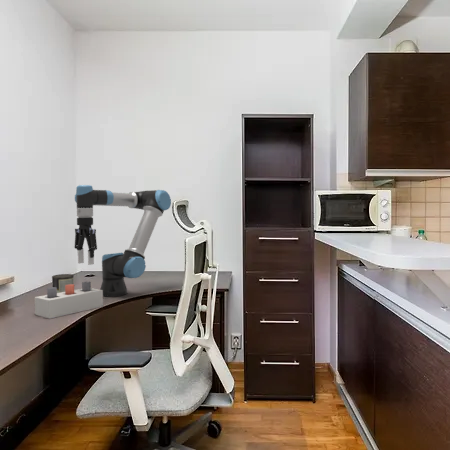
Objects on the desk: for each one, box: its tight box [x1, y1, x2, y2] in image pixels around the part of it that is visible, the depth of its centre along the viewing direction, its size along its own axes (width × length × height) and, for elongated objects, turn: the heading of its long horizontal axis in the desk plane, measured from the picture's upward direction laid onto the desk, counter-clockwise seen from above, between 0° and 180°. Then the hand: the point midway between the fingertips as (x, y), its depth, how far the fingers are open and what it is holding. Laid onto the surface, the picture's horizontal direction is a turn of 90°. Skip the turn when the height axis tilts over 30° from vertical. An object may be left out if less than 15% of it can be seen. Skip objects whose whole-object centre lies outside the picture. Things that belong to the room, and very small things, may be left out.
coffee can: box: [51, 273, 75, 293], centre depth 210 cm, size 10×10×14 cm
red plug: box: [65, 284, 75, 295], centre depth 194 cm, size 4×4×7 cm
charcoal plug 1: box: [46, 287, 57, 298], centre depth 187 cm, size 4×4×7 cm
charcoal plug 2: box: [81, 281, 92, 292], centre depth 202 cm, size 4×4×7 cm
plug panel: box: [34, 287, 104, 320], centre depth 195 cm, size 28×12×8 cm, turn 143°
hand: (85, 263), depth 201 cm, fingers open, 8 cm apart
